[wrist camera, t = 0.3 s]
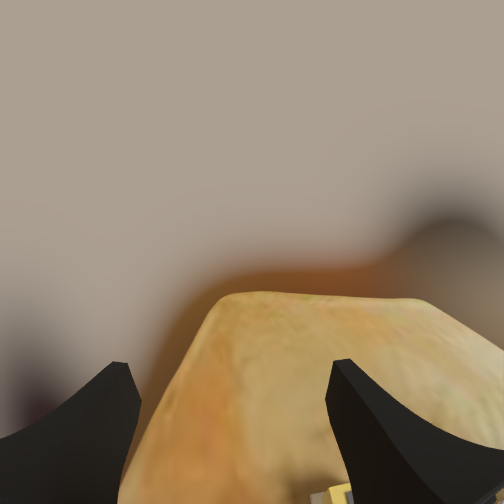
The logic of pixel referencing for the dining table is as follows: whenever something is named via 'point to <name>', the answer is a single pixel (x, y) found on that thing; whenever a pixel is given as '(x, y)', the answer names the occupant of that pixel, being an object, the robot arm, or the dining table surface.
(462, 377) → the dining table surface
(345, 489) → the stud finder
